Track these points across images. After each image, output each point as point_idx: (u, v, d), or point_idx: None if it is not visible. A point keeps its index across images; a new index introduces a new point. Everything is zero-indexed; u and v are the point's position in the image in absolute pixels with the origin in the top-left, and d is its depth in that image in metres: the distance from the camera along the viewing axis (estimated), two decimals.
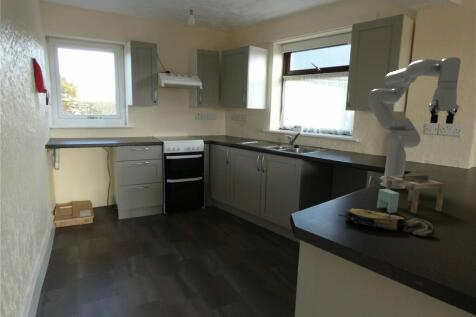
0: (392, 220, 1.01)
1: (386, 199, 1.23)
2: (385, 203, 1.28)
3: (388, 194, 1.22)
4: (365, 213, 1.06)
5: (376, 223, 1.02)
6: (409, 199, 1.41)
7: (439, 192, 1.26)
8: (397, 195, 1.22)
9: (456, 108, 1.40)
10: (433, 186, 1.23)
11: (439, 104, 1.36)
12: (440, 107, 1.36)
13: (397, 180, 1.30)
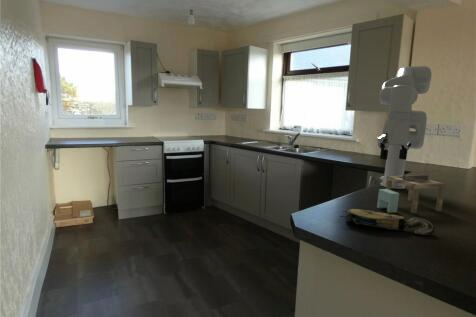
0: (394, 220, 1.01)
1: (386, 199, 1.23)
2: (385, 203, 1.28)
3: (388, 194, 1.22)
4: (366, 214, 1.05)
5: (378, 223, 1.01)
6: (409, 199, 1.41)
7: (439, 192, 1.26)
8: (397, 195, 1.22)
9: (410, 141, 1.23)
10: (433, 186, 1.23)
11: (388, 138, 1.18)
12: (390, 141, 1.18)
13: (397, 180, 1.30)
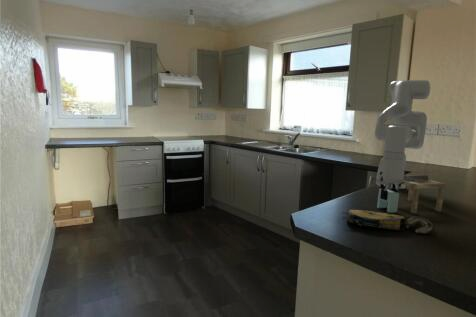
0: (395, 220, 1.02)
1: None
2: (385, 203, 1.28)
3: (388, 194, 1.22)
4: (368, 214, 1.04)
5: (381, 224, 1.01)
6: (409, 199, 1.41)
7: (439, 192, 1.26)
8: (397, 195, 1.22)
9: (401, 182, 1.25)
10: (433, 186, 1.23)
11: (384, 180, 1.21)
12: (385, 180, 1.21)
13: None
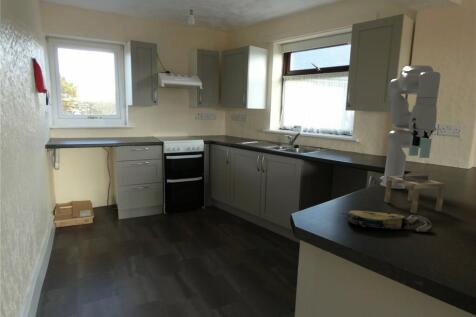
0: (397, 220, 1.02)
1: None
2: (416, 151, 1.31)
3: (421, 140, 1.25)
4: (371, 215, 1.04)
5: (385, 224, 1.00)
6: (409, 199, 1.41)
7: (439, 192, 1.26)
8: (430, 141, 1.25)
9: (432, 130, 1.28)
10: (433, 186, 1.23)
11: (417, 126, 1.24)
12: (418, 126, 1.24)
13: (397, 180, 1.30)
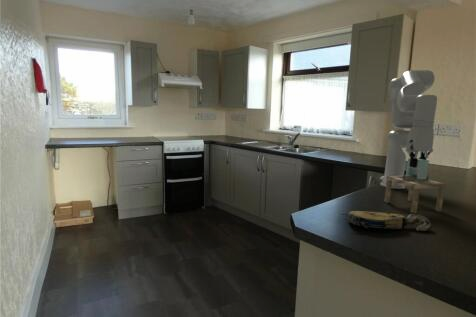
0: (398, 219, 1.02)
1: None
2: (413, 172, 1.32)
3: (418, 161, 1.26)
4: (372, 216, 1.03)
5: (387, 224, 1.00)
6: (409, 199, 1.41)
7: (439, 192, 1.26)
8: (427, 162, 1.26)
9: (430, 151, 1.29)
10: (433, 186, 1.23)
11: (414, 148, 1.25)
12: (415, 148, 1.25)
13: (397, 180, 1.30)
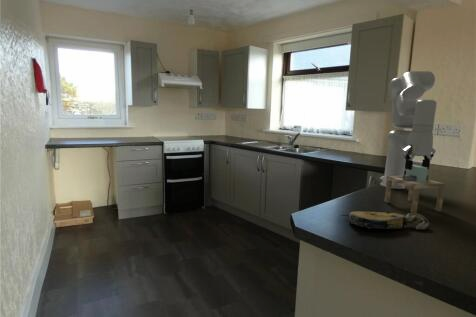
0: (399, 219, 1.03)
1: (415, 173, 1.28)
2: None
3: (417, 168, 1.27)
4: (374, 216, 1.03)
5: (389, 224, 1.00)
6: (409, 199, 1.41)
7: (439, 192, 1.26)
8: (426, 170, 1.27)
9: (433, 152, 1.30)
10: (433, 186, 1.23)
11: (413, 150, 1.25)
12: (414, 153, 1.25)
13: (397, 180, 1.30)
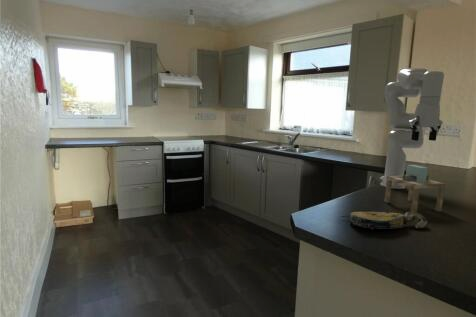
0: (400, 219, 1.03)
1: (415, 173, 1.28)
2: None
3: (417, 168, 1.27)
4: (376, 216, 1.02)
5: (391, 224, 1.00)
6: (409, 199, 1.41)
7: (439, 192, 1.26)
8: (426, 170, 1.27)
9: (440, 124, 1.33)
10: (433, 186, 1.23)
11: (420, 121, 1.28)
12: (421, 124, 1.28)
13: (397, 180, 1.30)
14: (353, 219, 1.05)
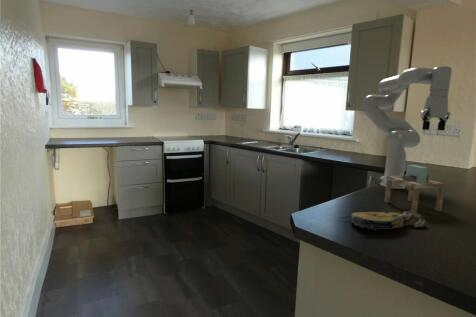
0: (401, 218, 1.03)
1: (415, 173, 1.28)
2: None
3: (417, 168, 1.27)
4: (378, 217, 1.02)
5: (393, 225, 1.00)
6: (409, 199, 1.41)
7: (439, 192, 1.26)
8: (426, 170, 1.27)
9: (448, 115, 1.45)
10: (433, 186, 1.23)
11: (431, 111, 1.40)
12: (432, 114, 1.40)
13: (397, 180, 1.30)
14: (355, 220, 1.04)
